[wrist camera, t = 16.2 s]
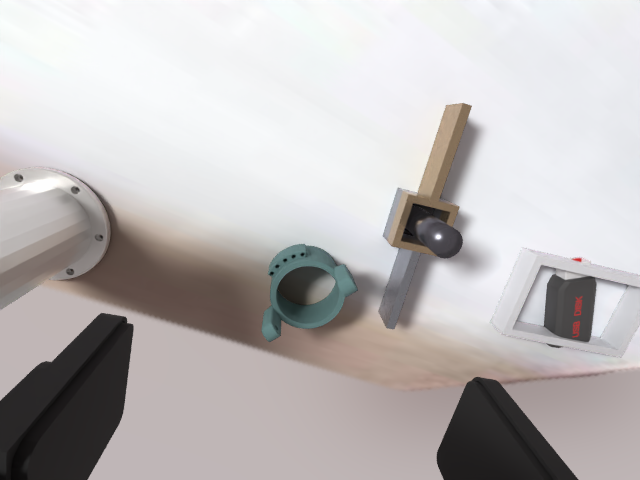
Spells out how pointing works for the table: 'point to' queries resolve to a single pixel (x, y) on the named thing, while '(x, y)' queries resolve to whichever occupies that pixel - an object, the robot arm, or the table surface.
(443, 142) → the hinge
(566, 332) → the usb flash stick
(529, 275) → the parts tray frame
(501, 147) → the table surface
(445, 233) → the hinge pin
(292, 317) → the teal round tub
